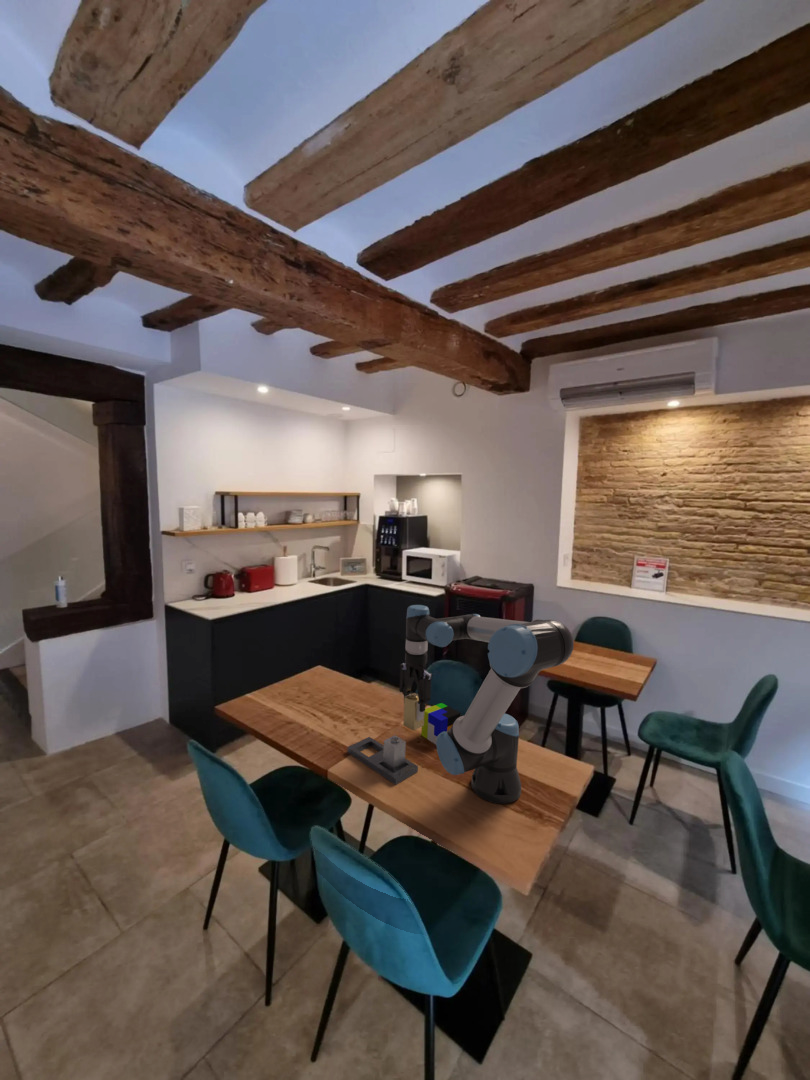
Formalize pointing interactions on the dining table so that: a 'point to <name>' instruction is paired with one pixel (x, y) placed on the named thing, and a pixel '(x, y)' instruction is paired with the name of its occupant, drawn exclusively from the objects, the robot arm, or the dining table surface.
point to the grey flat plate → (380, 761)
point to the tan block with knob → (411, 712)
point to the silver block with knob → (394, 754)
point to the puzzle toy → (438, 721)
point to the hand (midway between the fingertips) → (413, 716)
